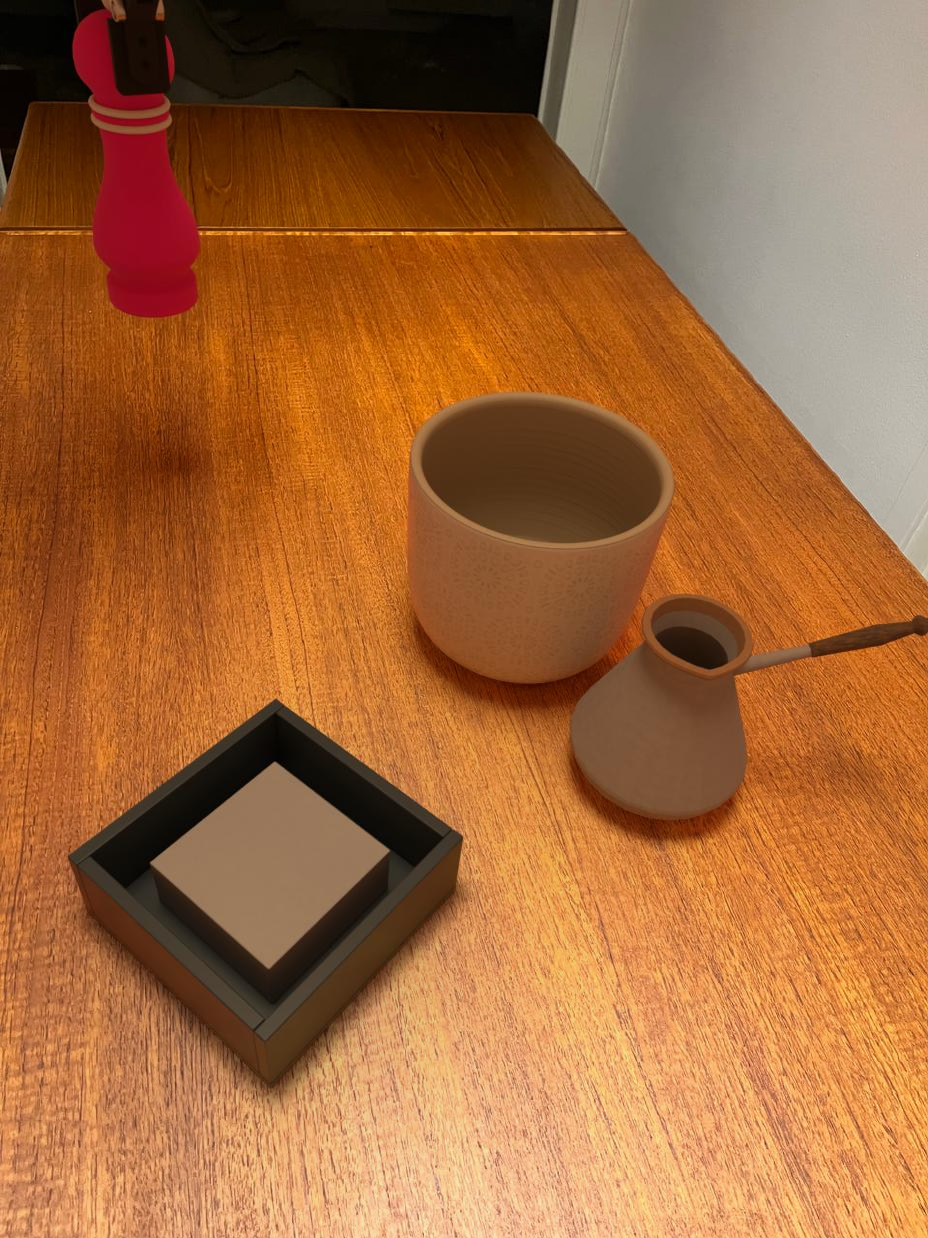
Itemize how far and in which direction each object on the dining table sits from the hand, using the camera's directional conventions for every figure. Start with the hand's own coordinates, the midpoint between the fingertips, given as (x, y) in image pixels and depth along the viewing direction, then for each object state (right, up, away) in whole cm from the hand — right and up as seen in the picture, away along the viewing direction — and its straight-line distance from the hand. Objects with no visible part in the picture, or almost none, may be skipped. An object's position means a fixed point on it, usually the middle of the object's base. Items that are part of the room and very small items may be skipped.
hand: (125, 72), depth 61 cm
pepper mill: (-1, -11, +10) cm, 15 cm away
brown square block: (+11, -50, -6) cm, 51 cm away
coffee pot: (+38, -44, +4) cm, 59 cm away
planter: (+25, -35, +12) cm, 45 cm away
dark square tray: (+11, -50, -6) cm, 52 cm away
